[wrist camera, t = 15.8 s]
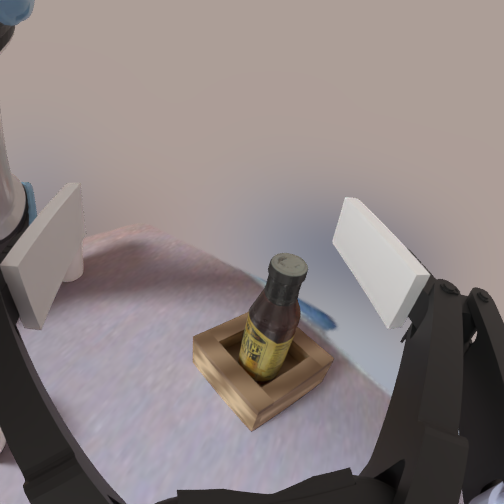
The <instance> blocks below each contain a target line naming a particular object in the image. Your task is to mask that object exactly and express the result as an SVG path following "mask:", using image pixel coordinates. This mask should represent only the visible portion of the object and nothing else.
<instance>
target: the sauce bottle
mask: <svg viewBox="0 0 504 504" xmlns="http://www.w3.org/2000/svg"><path fill="white" fill-rule="evenodd" d="M307 271H308V266H307V264H306V263H305V261H304V260H303V259H301V258H300V257H298V256H295V255H293V254H289V253H280V254H277V255H275V256H274V257H273V258H272V259H271V261H270V264H269V268H268V272H269V276H268V279H267V283H266V286H265V288H264V290H263V291H262V292H261V294H260V295H259V297H258V298H257V299H256V301H255V302H254V303H253V305H252V306H251V307H250V309H249V313H248V317H247V322H246V326H245V330H244V335H243V339H242V344H241V349H240V353H239V358H238V364H239V365H240V366H241V367H242V368H243V369H244V370H245V371H246V373H247V374H248V375H249V376H250V377H251V378H252V379H253V380H254V381H255V382H256V383H257V384H260V385H262V384H267V383H269V382H271V381H272V380H273V379H275V378H276V376H277V375H278V373H279V371H280V369H281V367H282V364H283V362H284V359H285V357H286V355H287V352H288V350H289V347H290V345H291V342H292V340H293V337H294V335H295V332H296V328H297V325H298V323H299V320H300V314H301V313H300V306H299V303H298V299H297V298H298V294H299V290H300V287H301V283H302V282H303V281H304V280H305V278H306V275H307Z"/></svg>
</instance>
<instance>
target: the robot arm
mask: <svg viewBox="0 0 504 504" xmlns="http://www.w3.org/2000/svg"><path fill="white" fill-rule="evenodd" d="M33 7H34V0H0V54H1V53H2V52H3V51H4V50H5V49H6V47H7V46H8V45H9V43H10V41H11V39H12V37H13V35H14V30H15V25H17V24H19V23H20V22H21V21H24V20H26V19H27V18H29V16H30V15H31V13H32V11H33ZM85 235H86V227H85V220H84V212H83V203H82V192H81V183H67V184H66V185H65V186H64V187H63V188H62V189H61V190H60V191H59V192H58V193H57V194H56V196H55V197H54V198H53V199H52V200H51V201H50V202H49V203H48V204H47V206H46V207H45V208H44V209H43V210H42V211H41V212H40V214H39V215H38V216H37V211H36V204H35V197H34V192H33V188H32V185H31V184H30V183H29V182H26V183H24V182H20V180H19V179H18V178H17V177H16V176H15V175H13V174H12V173H11V172H10V168H9V163H8V157H7V152H6V146H5V140H4V134H3V127H2V119H1V111H0V427H1V430H2V432H3V434H4V437H5V439H6V441H7V443H8V446H9V448H10V450H11V452H12V454H13V456H14V458H15V460H16V462H17V464H18V466H19V468H20V470H21V472H22V474H23V476H24V478H25V483H24V485H23V488H24V492H25V494H26V496H27V498H28V500H29V502H30V503H31V504H126V503H125V501H124V500H123V499H122V498H121V497H120V496H119V495H118V494H117V493H116V492H115V491H114V490H113V489H112V488H111V487H110V485H109V484H108V483H107V482H106V481H105V480H104V478H103V477H102V476H101V474H100V473H99V472H98V471H97V469H96V468H95V467H94V465H93V464H92V463H91V461H90V460H89V458H88V457H87V456H86V454H85V453H84V451H83V450H82V449H81V447H80V446H79V444H78V443H77V441H76V440H75V438H74V437H73V435H72V434H71V432H70V431H69V429H68V427H67V426H66V424H65V423H64V421H63V419H62V418H61V416H60V414H59V413H58V411H57V409H56V407H55V406H54V404H53V402H52V400H51V399H50V397H49V395H48V393H47V391H46V389H45V387H44V385H43V384H42V382H41V380H40V378H39V376H38V374H37V371H36V369H35V367H34V365H33V363H32V361H31V359H30V357H29V354H28V352H27V350H26V347H25V345H24V343H23V340H22V338H21V335H20V333H19V331H18V328H17V326H16V323H17V320H18V318H19V317H20V319H21V321H22V323H23V326H24V328H28V329H35V330H42V328H43V325H44V322H45V320H46V317H47V315H48V313H49V310H50V308H51V305H52V303H53V301H54V299H55V296H56V294H57V292H58V290H59V287H60V285H61V283H62V281H63V279H64V277H65V274H66V272H67V270H68V268H69V266H70V264H71V262H72V260H73V258H74V256H75V254H76V252H77V250H78V248H79V246H80V245H81V243H82V241H83V239H84V237H85ZM332 243H333V244H334V246H335V247H336V249H337V250H338V252H339V253H340V255H341V256H342V258H343V259H344V261H345V262H346V264H347V265H348V267H349V268H350V270H351V271H352V273H353V274H354V276H355V278H356V279H357V281H358V282H359V284H360V285H361V287H362V288H363V290H364V291H365V293H366V295H367V296H368V298H369V299H370V301H371V303H372V304H373V306H374V308H375V309H376V311H377V312H378V314H379V316H380V317H381V319H382V321H383V322H384V324H385V325H386V327H387V329H394V328H401V327H402V326H403V324H404V323H405V321H406V319H407V317H409V318H410V320H411V321H412V324H411V325H410V327H409V328H408V330H407V332H406V333H405V335H404V336H403V338H402V340H401V342H402V343H403V341H404V340H405V339H406V342H405V346H404V351H403V356H402V360H401V364H400V368H399V372H398V376H397V379H396V383H395V387H394V390H393V394H392V397H391V401H390V404H389V407H388V411H387V414H386V417H385V420H384V423H383V426H382V429H381V432H380V435H379V438H378V440H377V443H376V446H375V449H374V451H373V454H372V457H371V459H370V461H369V462H368V464H367V465H366V467H365V468H364V469H363V471H362V472H361V473H360V475H359V476H357V475H352V472H351V469H350V468H346V469H342V470H338V471H335V472H330V473H326V474H322V475H318V476H313V477H311V478H309V479H306V480H304V481H302V482H300V483H298V484H295V485H293V486H291V487H289V488H286V489H284V490H282V491H279V492H277V493H274V494H259V493H250V492H241V491H234V490H227V489H209V490H177V496H178V497H173V498H169V499H166V500H163V501H160V502H157V503H155V504H458V503H459V499H460V494H461V490H462V492H463V500H464V504H504V323H503V320H502V318H501V316H500V314H499V312H498V309H497V307H496V305H495V303H494V301H493V299H492V297H491V296H490V295H489V294H488V292H486V291H485V290H483V289H480V288H473V289H472V290H471V292H470V294H469V296H464V295H461V294H460V291H459V290H458V289H457V287H456V286H454V285H453V284H452V283H450V282H448V281H446V280H443V279H438V280H436V279H435V278H434V277H433V275H432V274H431V273H430V272H429V271H428V270H427V269H426V267H425V266H424V265H423V264H421V262H420V261H419V260H418V259H417V258H416V256H415V255H414V254H413V253H412V252H411V251H410V250H409V249H407V248H406V247H405V246H404V245H403V244H402V243H401V242H400V241H399V240H398V239H397V238H396V236H395V235H393V233H392V232H391V231H390V230H389V229H388V228H387V227H386V226H385V225H384V224H383V223H382V222H381V221H380V220H379V219H378V218H377V217H376V216H375V215H374V214H373V213H372V212H371V211H370V210H369V209H368V208H367V207H366V206H365V205H364V204H363V203H362V202H361V201H360V200H359V199H357V198H349V197H345V200H344V204H343V207H342V211H341V214H340V217H339V221H338V224H337V228H336V231H335V234H334V237H333V241H332ZM476 331H477V337H476V339H475V341H474V342H473V343H472V340H471V338H472V337H473V335H474V334H475V332H476ZM458 430H459V435H458Z"/></svg>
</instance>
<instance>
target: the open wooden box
mask: <svg viewBox="0 0 504 504" xmlns="http://www.w3.org/2000/svg"><path fill="white" fill-rule="evenodd" d="M248 313H249V312H247V313H245V314H243V315H241V316H239V317H236V318H234V319H232V320H230V321H227V322H225V323H223V324H221V325H218V326H216V327H214V328H212V329H209V330H207V331H205V332H202V333H200V334H198V335H195V336H193V363H194V364H195V366H196V367H197V368H198V369H199V371H200V372H201V373H202V374H203V376H204V377H205V378H206V379H207V381H208V382H209V383H210V384H211V386H212V387H213V388H214V389H215V390H216V392H217V393H218V394H219V395H220V396H221V398H222V399H223V400H224V401H225V402H226V404H227V405H228V406H229V407H230V408H231V409H232V410H233V412H234V413H235V414H236V415H237V416H238V417H239V418H240V420H241V421H242V422H243V423H244V424H245V425H246V426H247V427H248V428H249V430H250V431H251V432H252V431H253V430H255V429H256V428H258V427H259V426H261V425H262V424H264V423H265V422H267V421H268V420H270V419H271V418H273V417H274V416H276V415H277V414H279V413H280V412H281V411H283V410H284V409H286V408H287V407H289V406H290V405H291V404H293V403H294V402H296V401H297V400H298V399H300V398H301V397H302V396H304V395H305V394H306V393H308V392H309V391H310V390H312V389H313V388H314V387H316V386H317V385H318V384H319V383H321V382H322V380H323V378H324V377H325V375H326V373H327V371H328V369H329V367H330V366H331V364H332V362H333V360H334V358H333V357H332V356H331V355H329V354H328V353H327V352H326V351H325V350H324V349H322V348H321V347H320V346H319V345H318V344H317V343H315V342H314V341H313V340H312V339H311V338H310V337H308V336H307V335H306V334H305V333H304V332H303V331H301V330H300V329H299V328H298V327H297V328H296V332H295V335H294V337H293V340H292V342H291V345H290V347H289V350H288V352H287V355H286V357H285V359H284V362H283V364H282V367H281V369H280V371H279V373H278V375H277V376H276V378H275V379H273V380H272V381H271V382H269V383H267V384H262V385H260V384H257V383H256V382H255V381H254V380H253V379H252V378H251V377H250V376H249V375H248V374H247V373H246V371H245V370H244V369H243V368H242V367H241V366H240V365H239V364H238V358H239V353H240V349H241V344H242V339H243V335H244V330H245V326H246V322H247V317H248Z"/></svg>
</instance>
